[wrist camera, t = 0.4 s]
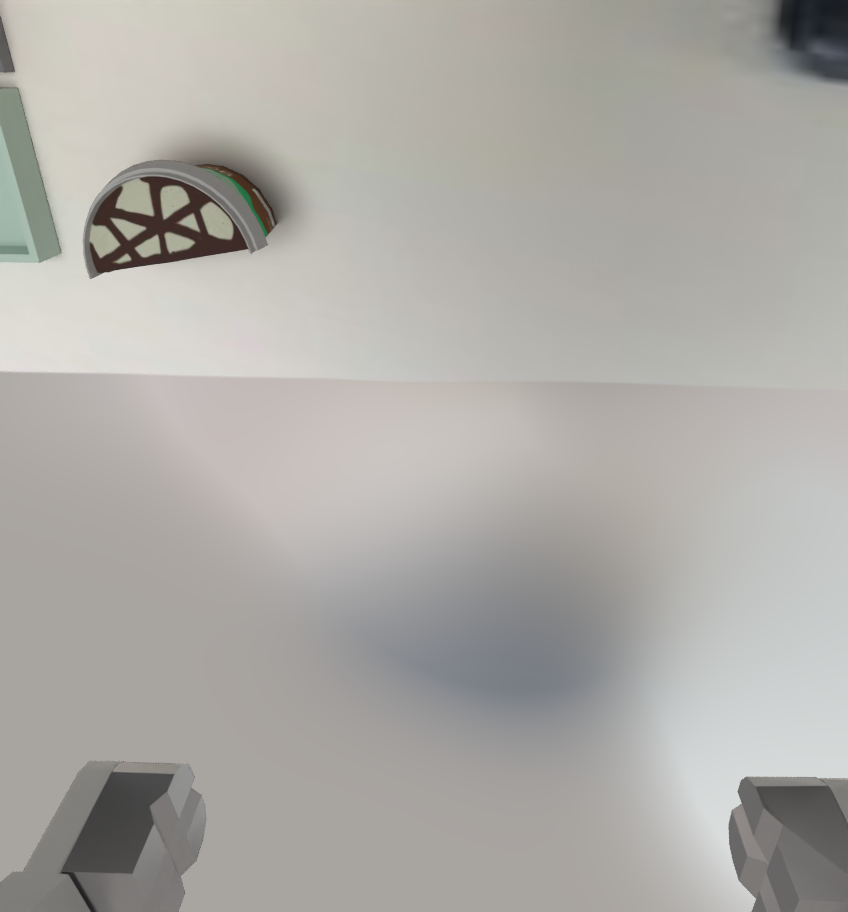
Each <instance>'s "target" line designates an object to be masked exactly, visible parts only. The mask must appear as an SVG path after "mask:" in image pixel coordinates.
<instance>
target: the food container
mask: <svg viewBox="0 0 848 912" xmlns="http://www.w3.org/2000/svg"><path fill="white" fill-rule="evenodd" d="M276 224H277V223H276V220H275V217H274V214H273V211H272V208H271V207H270V205H269V204H268V202H267V201H266V199H265V198H264V196H263V195H262V193H261V192H260V190H259V189H258V188H257V187H256V186H254V185H253V184H252V183H251V182H250V181H249V180H248V179H246V178H245V177H244V176H243V175H241V174H239V173H237V172H235V171H233V170H230V169H228V168H226V167H224V166H217V165H209V164H207V165H197V166H194V165H190V164H187V163H183V162H179V161H169V160H156V161H147V162H143V163H140V164H136V165H133V166H131V167H129V168H128V169H126V170H124V171H122V172H120V173H119V174H118V175H117V176H116V177H114V178H113V179H112V180H111V181H110V182H109V183H108V184H107V185H106V186H105V187H104V188H103V190H102V191H101V192H100V193H99V194H98V196H97V197H96V198H95V200H94V202H93V204H92V206H91V208H90V210H89V213H88V216H87V219H86V223H85V228H84V235H83V254H84V259H85V265H86V269H87V272H88V275H89V278H90V279H92V278H94V277H96V276H98V275H100V274H102V273H104V272H111V271H114V270H120V269H126V268H133V267H139V266H146V265H153V264H161V263H168V262H175V261H180V260H185V259H191V258H197V257H203V256H209V255H215V254H221V253H227V252H233V251H239V250H245V249H249V252H250V254H251V253H253V252H254V251H257V250H260V249H261V248H263V247H265V246H267V245H268V244H267V241H266V236H267V235H268V234H269V233H270V232H271V230H272V229H273V228H274V227H275V226H276Z"/></svg>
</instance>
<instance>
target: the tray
mask: <svg viewBox="0 0 848 912" xmlns="http://www.w3.org/2000/svg"><path fill="white" fill-rule="evenodd" d="M60 253H61V250H60V247H59V243H58V239H57V235H56V231H55V228H54V224H53V220H52V216H51V213H50V209H49V205H48V201H47V197H46V194H45V190H44V186H43V182H42V178H41V175H40V171H39V167H38V163H37V160H36V156H35V152H34V148H33V144H32V141H31V137H30V133H29V129H28V126H27V122H26V118H25V114H24V110H23V107H22V103H21V99H20V95H19V91H18V88H0V262H25V263H40V262H42V261H45V260H47V259H49V258H51V257H53V256H56V255H58V254H60Z"/></svg>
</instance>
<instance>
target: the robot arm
mask: <svg viewBox="0 0 848 912" xmlns="http://www.w3.org/2000/svg"><path fill="white" fill-rule="evenodd" d="M194 778H195V777H194V774H193V772H192V770H191V767H190V765H189V764H173V763H140V762H124V761H89V762H88V763H87V764H86V765H85V766H84V767H83V768H82V769H81V770H80V771H79V772H78V774H77V776H76V778H75V779H74V781H73V783H72V785H71V786H70V788H69V790H68V792H67V793H66V795H65V797H64V799H63V801H62V802H61V804H60V806H59V808H58V810H57V811H56V813H55V815H54V817H53V819H52V820H51V822H50V824H49V826H48V827H47V829H46V831H45V833H44V834H43V836H42V838H41V840H40V842H39V843H38V845H37V847H36V849H35V851H34V852H33V854H32V856H31V858H30V859H29V861H28V863H27V865H26V867H25V868H24V870H23V872H12V873H11V874H10V875H8V876H7V877H6V878H5V879H4V880H3V881H1V882H0V912H179V909H180V906H181V903H182V900H183V898H184V895H185V890H184V887H183V883H182V880H181V875H182V874H183V873H184V872H185V871H186V870H188V868H189V867H190V866H192V865H193V864H194V862H196V860H197V857H198V854H199V851H200V848H201V845H202V842H203V837H204V830H205V823H206V811H205V803H204V801H203V798H202V795H201V794H199V793H198V792H197V791H195V790H194V789H192V788H191V786H192V783H193V781H194ZM738 794H739V797H740V799H741V802H742V804H741V805H739V806H738V807H736V808H735V809H733V810H732V812H731V817H730V821H729V845H730V849H731V854H732V859H733V863H734V866H735V869H736V873H737V876H738V879H739V881H740V882H741V883H742V884H743V886H744V887H745V888H746V889H747V890H748V891H749V892H750V893H751V894H752V895H753V896H754V897H755V898H756V901H755V904H754V907H753V910H752V912H848V779H845V778H843V779H841V778H817V777H745V778H744V779H742V780H741V782H740V786H739V789H738Z"/></svg>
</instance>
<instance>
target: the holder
mask: <svg viewBox="0 0 848 912" xmlns="http://www.w3.org/2000/svg"><path fill="white" fill-rule="evenodd" d="M0 72H15V71H14V67H13V64H12V60H11V56H10V52H9V48H8V45H7V41H6V37H5V33H4V29H3V26H2V22H1V18H0Z"/></svg>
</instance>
